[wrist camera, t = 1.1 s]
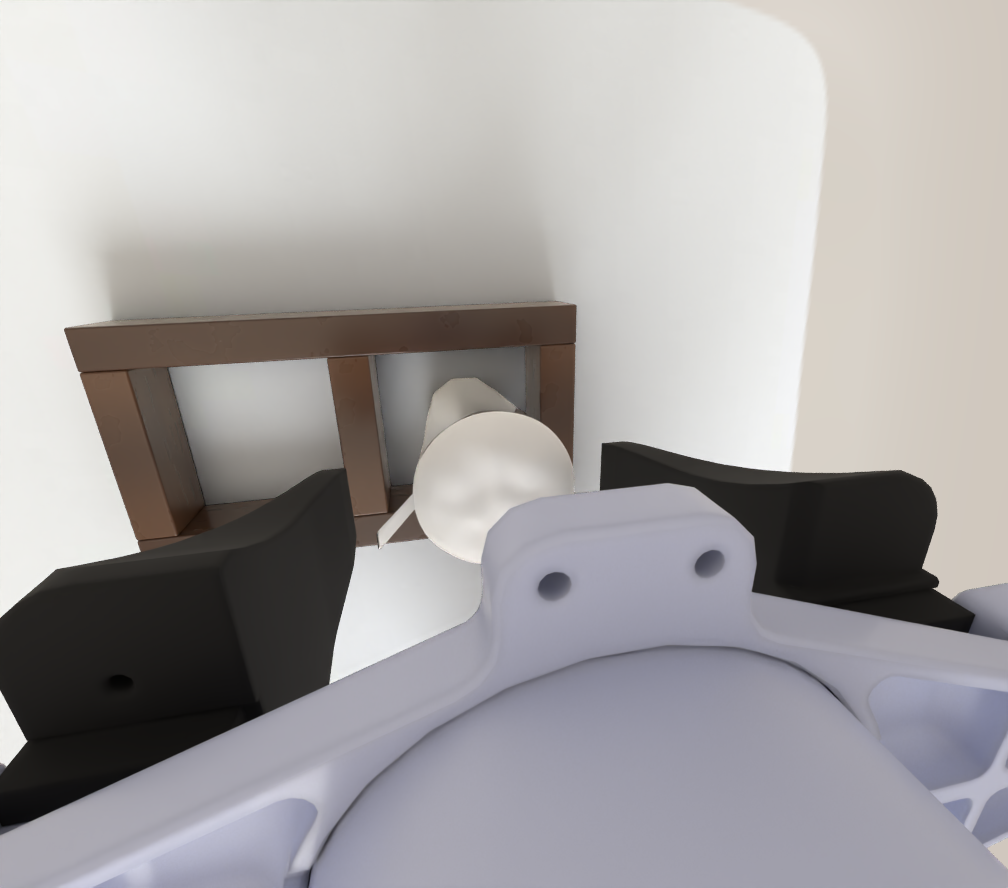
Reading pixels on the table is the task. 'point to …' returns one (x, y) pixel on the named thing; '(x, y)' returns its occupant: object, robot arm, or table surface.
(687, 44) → the table surface
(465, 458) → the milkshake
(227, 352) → the rack
